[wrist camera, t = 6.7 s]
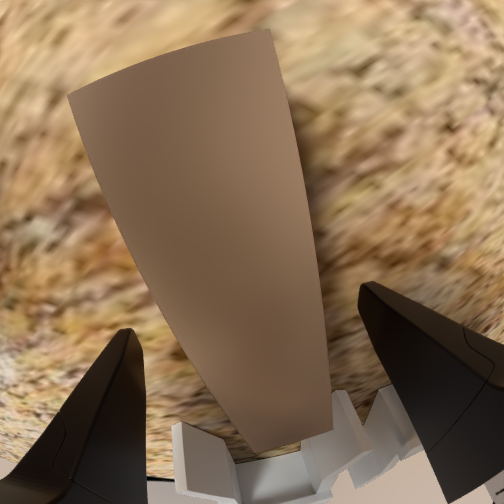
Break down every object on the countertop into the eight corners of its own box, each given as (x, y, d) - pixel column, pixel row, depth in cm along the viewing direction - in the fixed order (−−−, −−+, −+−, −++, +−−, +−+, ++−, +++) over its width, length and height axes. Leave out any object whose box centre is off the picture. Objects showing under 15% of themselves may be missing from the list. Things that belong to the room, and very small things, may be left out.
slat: (238, 52, 7) (269, 28, 4) (309, 370, 15) (333, 429, 12) (114, 91, 7) (66, 95, 4) (241, 391, 14) (254, 453, 11)
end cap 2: (338, 449, 21) (356, 495, 17) (357, 396, 17) (387, 460, 13) (433, 410, 23) (455, 447, 18) (471, 347, 18) (505, 391, 14)
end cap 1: (346, 386, 16) (379, 456, 12) (329, 446, 20) (348, 495, 16) (169, 422, 15) (174, 501, 10) (205, 472, 19) (213, 524, 15)
